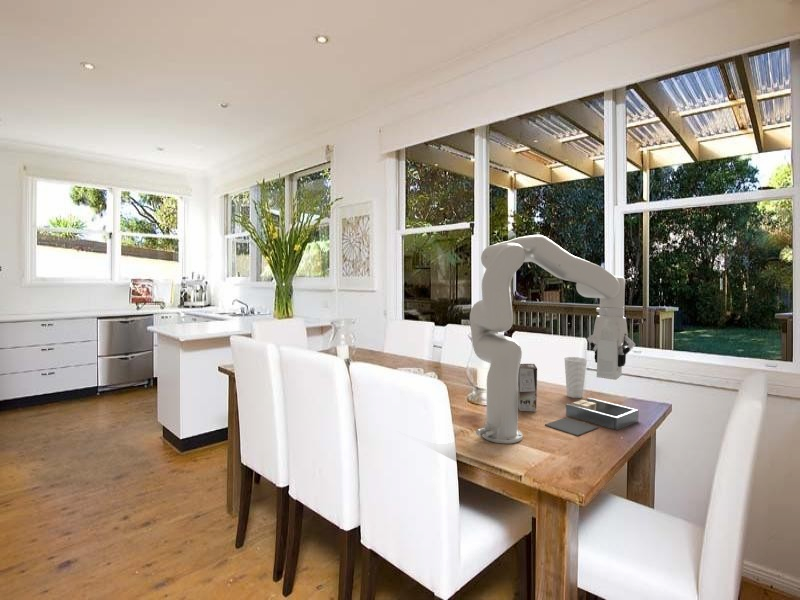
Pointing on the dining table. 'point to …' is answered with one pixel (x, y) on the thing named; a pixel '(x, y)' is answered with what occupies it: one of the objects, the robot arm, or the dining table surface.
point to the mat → (572, 426)
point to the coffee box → (527, 387)
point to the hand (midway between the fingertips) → (609, 363)
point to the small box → (608, 360)
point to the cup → (575, 376)
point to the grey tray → (622, 414)
